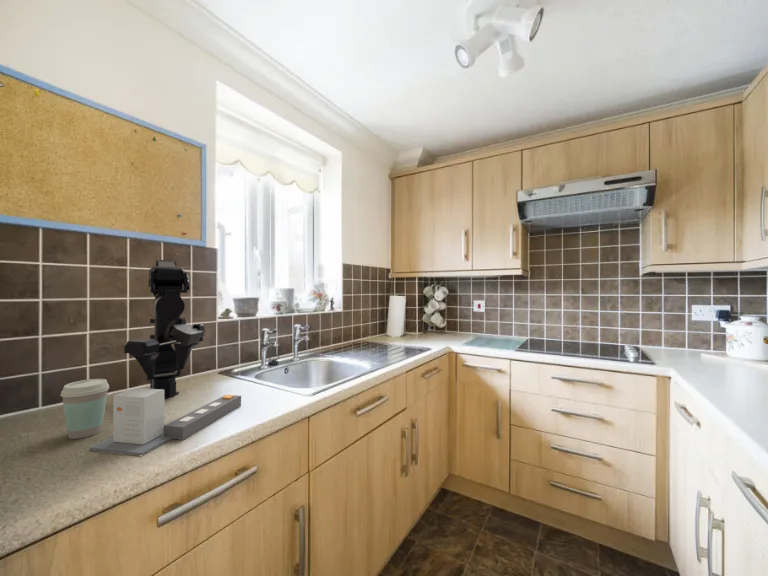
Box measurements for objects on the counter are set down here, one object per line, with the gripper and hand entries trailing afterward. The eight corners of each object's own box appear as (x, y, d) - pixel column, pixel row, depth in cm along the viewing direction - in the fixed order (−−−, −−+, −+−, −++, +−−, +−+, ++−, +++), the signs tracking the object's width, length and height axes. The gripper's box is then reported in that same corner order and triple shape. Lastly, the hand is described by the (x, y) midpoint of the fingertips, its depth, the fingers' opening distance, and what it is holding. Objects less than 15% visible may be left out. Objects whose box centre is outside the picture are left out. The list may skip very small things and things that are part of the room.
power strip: (163, 438, 73) (164, 423, 73) (225, 404, 95) (225, 393, 95) (182, 440, 73) (183, 425, 73) (240, 405, 94) (241, 394, 94)
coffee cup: (104, 422, 82) (105, 376, 82) (112, 432, 76) (113, 382, 76) (57, 434, 75) (58, 383, 75) (62, 445, 70) (62, 391, 70)
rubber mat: (89, 450, 68) (89, 447, 68) (136, 428, 79) (137, 425, 79) (141, 456, 66) (141, 453, 66) (183, 432, 77) (183, 430, 77)
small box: (165, 434, 74) (165, 389, 74) (143, 445, 69) (144, 397, 69) (135, 431, 76) (136, 387, 76) (112, 442, 70) (112, 394, 70)
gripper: (163, 320, 72) (162, 388, 72) (220, 312, 90) (219, 367, 91) (122, 317, 74) (121, 384, 74) (186, 311, 92) (185, 364, 93)
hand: (167, 374), depth 83 cm, fingers open, 9 cm apart
